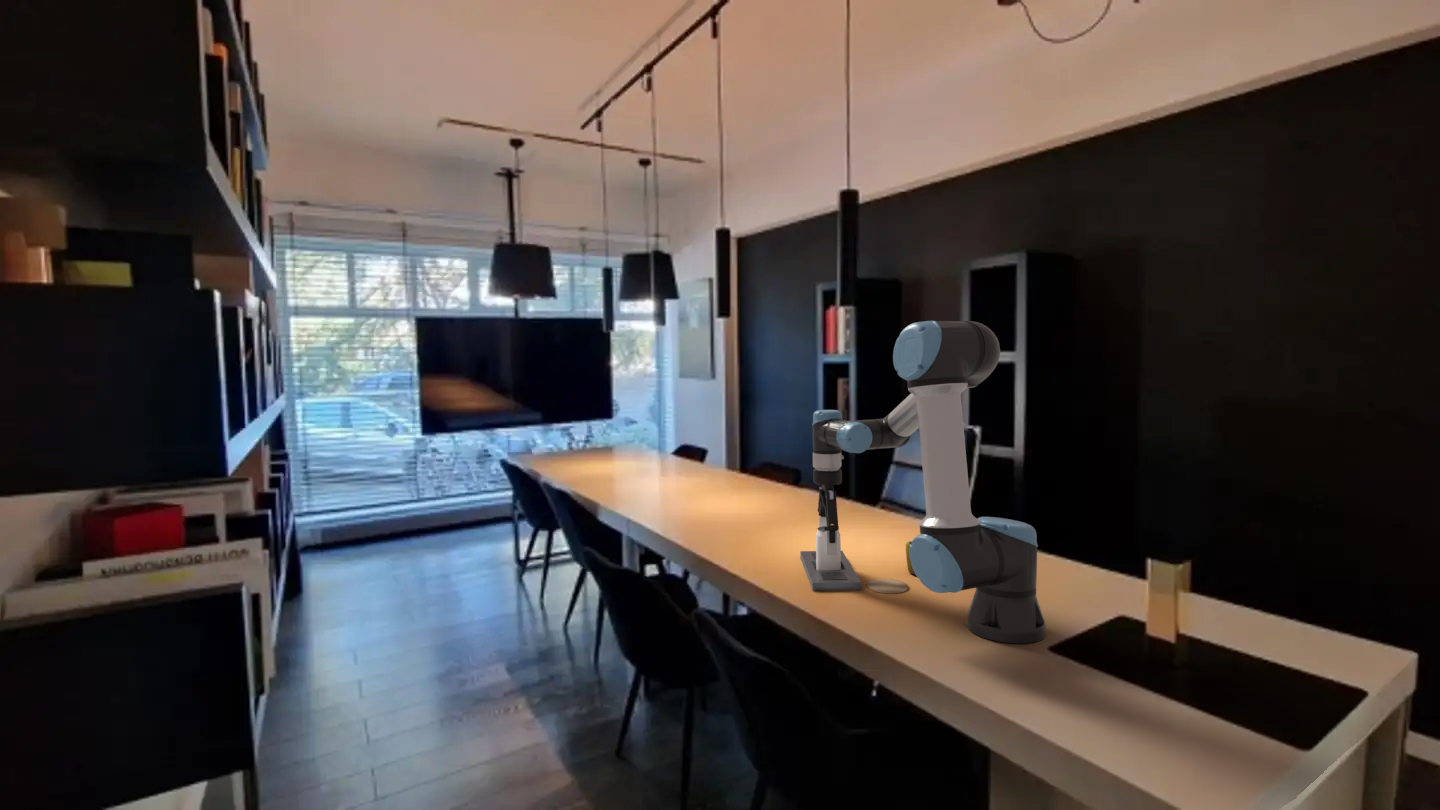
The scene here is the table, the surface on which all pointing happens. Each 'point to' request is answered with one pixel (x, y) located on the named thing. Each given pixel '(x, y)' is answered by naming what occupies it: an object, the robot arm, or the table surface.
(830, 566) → the can
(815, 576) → the panel
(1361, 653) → the table surface
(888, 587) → the coaster
